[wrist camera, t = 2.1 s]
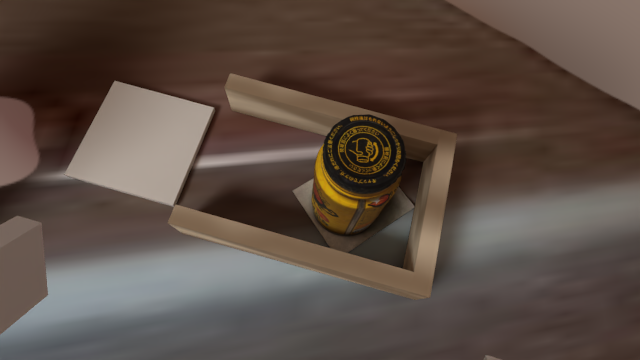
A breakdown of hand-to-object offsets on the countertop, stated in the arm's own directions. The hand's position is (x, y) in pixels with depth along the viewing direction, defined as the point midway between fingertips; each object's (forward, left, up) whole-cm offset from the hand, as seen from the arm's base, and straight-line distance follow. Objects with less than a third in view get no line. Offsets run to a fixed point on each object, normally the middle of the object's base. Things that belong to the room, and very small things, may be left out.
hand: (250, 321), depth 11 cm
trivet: (-11, -17, -21) cm, 29 cm away
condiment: (-11, +3, -22) cm, 25 cm away
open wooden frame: (-11, -1, -21) cm, 24 cm away
